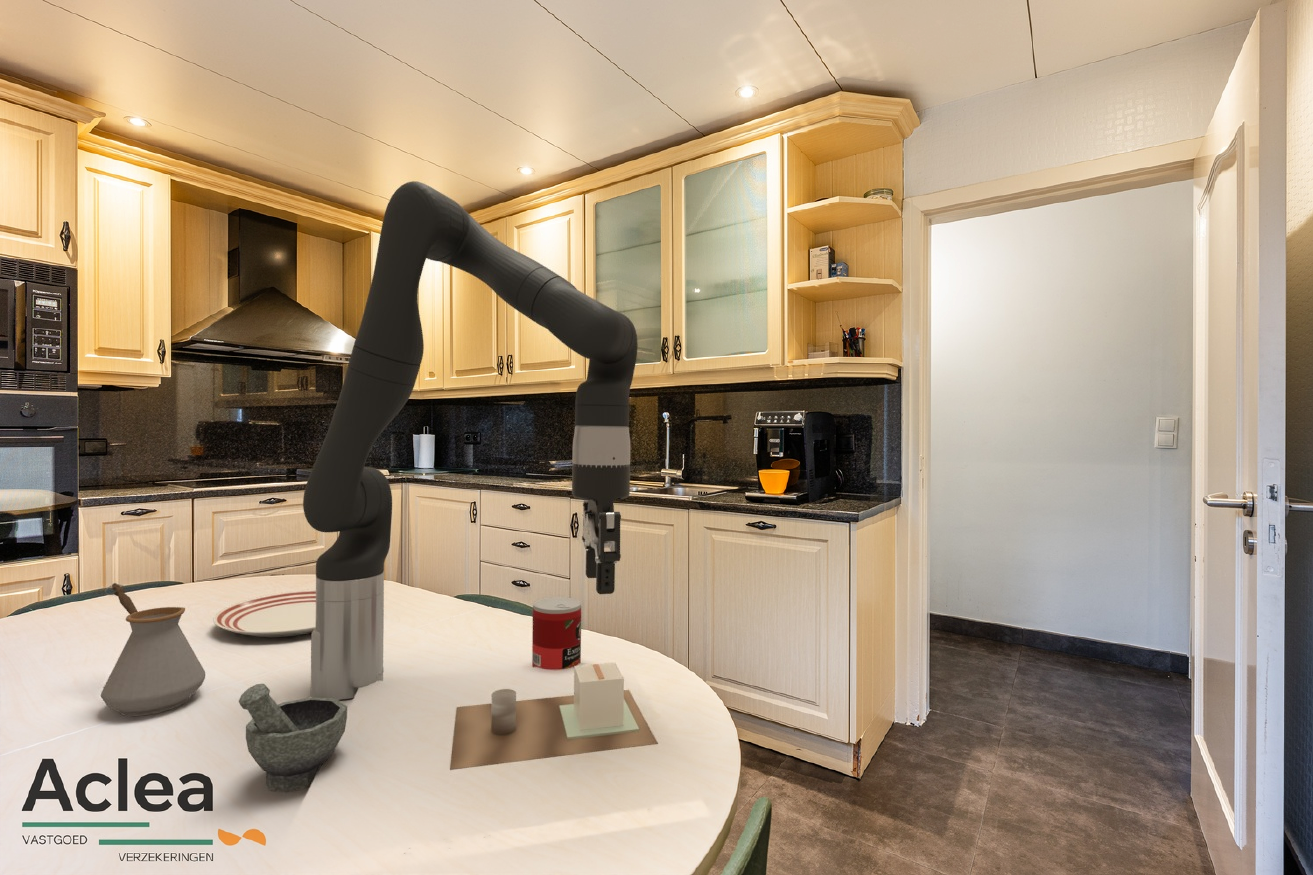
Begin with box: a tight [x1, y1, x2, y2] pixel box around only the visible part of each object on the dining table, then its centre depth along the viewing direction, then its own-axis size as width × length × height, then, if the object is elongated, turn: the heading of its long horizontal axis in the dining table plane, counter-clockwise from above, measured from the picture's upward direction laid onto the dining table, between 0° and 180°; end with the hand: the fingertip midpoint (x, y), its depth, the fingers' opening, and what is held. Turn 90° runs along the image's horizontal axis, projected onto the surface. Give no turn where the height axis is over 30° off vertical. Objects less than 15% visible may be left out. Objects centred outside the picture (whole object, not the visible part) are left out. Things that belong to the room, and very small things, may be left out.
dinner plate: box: [212, 589, 316, 638], centre depth 125 cm, size 27×27×3 cm
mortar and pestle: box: [238, 683, 348, 793], centre depth 69 cm, size 11×9×12 cm
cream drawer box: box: [573, 662, 625, 730], centre depth 81 cm, size 6×6×6 cm
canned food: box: [531, 596, 582, 671], centre depth 102 cm, size 8×8×11 cm
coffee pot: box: [100, 582, 206, 717], centre depth 90 cm, size 21×12×15 cm, turn 58°
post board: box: [449, 688, 659, 771], centre depth 80 cm, size 24×16×6 cm, turn 105°
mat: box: [559, 700, 639, 740], centre depth 81 cm, size 9×9×1 cm
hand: (599, 584), depth 81 cm, fingers open, 8 cm apart
